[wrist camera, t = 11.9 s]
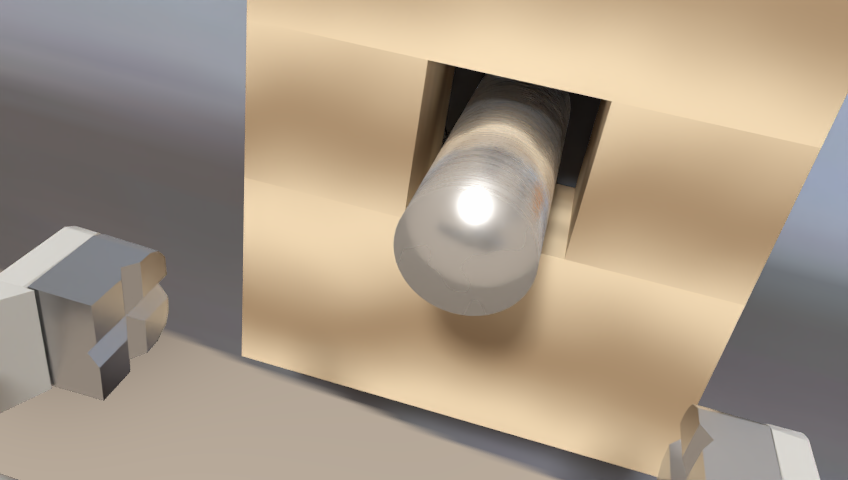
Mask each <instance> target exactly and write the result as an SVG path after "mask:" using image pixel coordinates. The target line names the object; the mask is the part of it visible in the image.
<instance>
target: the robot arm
mask: <svg viewBox="0 0 848 480" xmlns="http://www.w3.org/2000/svg"><path fill="white" fill-rule="evenodd" d="M166 275H167V272H166V262H165V256H163V255H162V254H161V253H160V252H159V251H156V250H153V249H150V248H147V247H143V246H140V245H137V244H134V243H131V242H127V241H124V240H121V239H118V238H115V237H111V236H108V235H105V234H99V233H97V232H94V231H90V230H87V229H84V228H80V227H77V226H70V227H64V228H63V229H61V230H60V231H59V232H57V233H56V234H54V235H53V236H52V237H50V238H49V239H47V240H46V241H45V242H43V243H42V244H40V245H39V246H38V247H36V248H35V249H33V250H32V251H31V252H29V253H28V254H26V255H25V256H24V257H22V258H21V259H19V260H18V261H17V262H15V263H14V264H12V265H11V266H10V267H8V268H7V269H5V270H4V271H3V272H1V273H0V413H2V412H3V411H6V410H8V409H10V408H12V407H14V406H16V405H19V404H21V403H23V402H25V401H27V400H29V399H31V398H33V397H35V396H37V395H40V394H42V393H44V392H46V391H48V390H50V389H52V386H55V387H58V388H62V389H65V390H69V391H72V392H76V393H79V394H83V395H86V396H90V397H93V398H96V399H100V400H105V399H106V397H107V396H108V395H109V394H110V393H111V392H112V391H113V390H114V389H115V388H116V387H117V386H118V384H119V383H120V382H121V381H122V380H123V379H124V378H125V377H126V376H127V374H129V372H130V359H132V358H135V357H137V356H140V355H143V354H145V353H148V351H149V350H150V349H151V348H152V347H153V345H154V344H155V343H156V342H157V341H158V339H159V337H160V335H161V333H162V331H163V329H164V327H165V325H166V320H167V315H168V296H167V295H166V293H165V292H164V291H163V289H162V288H161V286H160V285H159V282H160V281H161V280H162V279H163V278H164V277H165V276H166ZM680 432H681V439H680V440H678V441H676V442H674V443H671V444H669V446H668V448H667V451H666V453H665V455H664V457H663V460H662V462H661V466H660V470H659V474H658V478H657V480H820V477H819V474H818V470H817V467H816V463H815V460H814V456H813V453H812V449H811V446H810V442H809V439H808V438H807V437H806V436H805V435H804V434H803V433H800V432H797V431H793V430H789V429H785V428H781V427H778V426H774V425H770V424H762V423H759V422H756V421H752V420H749V419H745V418H741V417H738V416H734V415H731V414H727V413H724V412H720V411H716V410H713V409H709V408H706V407H702V406H698V405H695V404H692V405H691V406H690V407H689V408H688V409H687V410H686V412H685V414H684V416H683V418H682V420H681V422H680ZM0 480H18V479H15V478H12V477H9V476H6V475H3V474H0Z"/></svg>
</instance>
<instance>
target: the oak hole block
mask: <svg viewBox="0 0 848 480" xmlns="http://www.w3.org/2000/svg"><path fill="white" fill-rule="evenodd" d="M456 66H457V67H461V68H466V69H470V70H474V71H479V72H483V73H488V74H492V75H497V76H501V77H506V78H510V79H515V80H519V81H524V82H528V83H532V84H537V85H541V86H546V87H550V88H555V89H559V90H564V91H568V92H573V93H577V94H582V95H586V96H590V97H595V98H599V99H601V101H600V104H599V108H598V111H597V115H596V118H595V122H594V125H593V128H592V132H591V135H590V139H589V142H588V146H587V149H586V152H585V156H584V159H583V163H582V166H581V170H580V173H579V176H578V180H577V183H576V187H575V188H573V187H569V186H565V185H561V184H555V189H554V194H553V199H552V203H551V208H550V213H549V218H548V222H547V227H546V232H545V237H544V241H543V246H542V251H541V256H540V260H539V265H538V270H537V275H536V277H535V280H534V282H533V284H532V286H531V288H530V289H529V291H528V292H527V293H526V295H525V296H524V297H523V298H522V299H521V300H519V301H518V302H517V303H515V304H514V305H513V306H511V307H509V308H507V309H505V310H503V311H500V312H497V313H494V314H490V315H483V316H466V315H459V314H454V313H451V312H448V311H445V310H442V309H440V308H438V307H435V306H434V305H432V304H430V303H428V302H427V301H425V300H424V299H423V298H421V297H420V296H419V295H418V294H417V293H416V292H415V291H413V289H412V288H411V287H410V286H409V285H408V284H407V282H406V281H405V279H404V278H403V276H402V274H401V272H400V271H399V269H398V266H397V263H396V260H395V255H394V246H393V244H394V235H395V230H396V227H397V225H398V222H399V220H400V218H401V217H402V215H403V213H404V212H405V210H406V208H407V206H408V205H409V203H410V201H411V200H412V198H413V196H414V194H415V193H416V191H417V189H418V188H419V186H420V184H421V182H422V181H423V179H424V177H425V176H426V174H427V172H428V171H429V169H430V167H431V165H432V164H433V162H434V160H435V159H436V157H437V155H438V153H439V152H440V150H441V147H442V141H443V136H444V130H445V124H446V118H447V113H448V107H449V101H450V95H451V90H452V84H453V78H454V72H455V67H456ZM847 93H848V0H247V38H246V107H245V176H244V245H243V313H242V356H244V357H247V358H251V359H254V360H258V361H261V362H265V363H268V364H271V365H275V366H278V367H282V368H285V369H289V370H292V371H295V372H299V373H302V374H306V375H309V376H313V377H316V378H319V379H323V380H326V381H330V382H333V383H337V384H340V385H343V386H347V387H350V388H354V389H357V390H361V391H364V392H368V393H371V394H374V395H378V396H381V397H385V398H388V399H392V400H395V401H398V402H402V403H405V404H409V405H412V406H416V407H419V408H422V409H426V410H429V411H433V412H436V413H440V414H443V415H446V416H450V417H453V418H457V419H460V420H464V421H467V422H470V423H474V424H477V425H481V426H484V427H488V428H491V429H494V430H498V431H501V432H505V433H508V434H512V435H515V436H519V437H522V438H525V439H529V440H532V441H536V442H539V443H543V444H546V445H549V446H553V447H556V448H560V449H563V450H567V451H570V452H573V453H577V454H580V455H584V456H587V457H591V458H594V459H597V460H601V461H604V462H608V463H611V464H615V465H618V466H621V467H625V468H628V469H632V470H635V471H639V472H642V473H645V474H649V475H652V476H656V477H658V474H659V470H660V466H661V462H662V460H663V457H664V455H665V453H666V451H667V448H668V446H669V444H671V443H674V442H676V441H678V440H680V439H681V432H680V422H681V420H682V418H683V416H684V414H685V412H686V410H687V409H688V408H689V407H690V406H691V405H692V404H695V405H697V404H698V402H699V400H700V398H701V396H702V394H703V392H704V390H705V388H706V386H707V384H708V381H709V379H710V377H711V375H712V373H713V371H714V369H715V367H716V365H717V363H718V361H719V359H720V357H721V354H722V352H723V350H724V348H725V346H726V344H727V342H728V340H729V338H730V336H731V334H732V332H733V330H734V327H735V325H736V323H737V321H738V319H739V317H740V315H741V313H742V311H743V309H744V307H745V305H746V303H747V301H748V298H749V296H750V294H751V292H752V290H753V288H754V286H755V284H756V282H757V280H758V278H759V276H760V274H761V271H762V269H763V267H764V265H765V263H766V261H767V259H768V257H769V255H770V253H771V251H772V249H773V247H774V245H775V242H776V240H777V238H778V236H779V234H780V232H781V230H782V228H783V226H784V224H785V222H786V220H787V218H788V215H789V213H790V211H791V209H792V207H793V205H794V203H795V201H796V199H797V197H798V195H799V193H800V191H801V189H802V186H803V184H804V182H805V180H806V178H807V176H808V174H809V172H810V170H811V168H812V166H813V164H814V162H815V159H816V157H817V155H818V153H819V151H820V149H821V147H822V145H823V143H824V141H825V139H826V137H827V135H828V132H829V130H830V128H831V126H832V124H833V122H834V120H835V118H836V116H837V114H838V112H839V110H840V108H841V106H842V103H843V101H844V99H845V97H846V95H847Z"/></svg>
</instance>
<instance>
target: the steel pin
mask: <svg viewBox="0 0 848 480" xmlns="http://www.w3.org/2000/svg"><path fill="white" fill-rule="evenodd" d="M570 112H571V103H570V97H569V93H568V91H564V90H559V89H555V88H550V87H546V86H541V85H537V84H532V83H528V82H524V81H519V80H515V79H510V78H506V77H501V76H497V75H492V74H488V73H487V74H486V75H485V76H484V77H483V79H482V80H481V82H480V83H479V85H478V87H477V88H476V90H475V92H474V94H473V95H472V97H471V99H470V100H469V102H468V104H467V106H466V107H465V109H464V111H463V112H462V114H461V116H460V117H459V119H458V121H457V123H456V124H455V126H454V128H453V129H452V131H451V133H450V135H449V136H448V138H447V140H446V141H445V143H444V145H443V147H442V148H441V150H440V152H439V153H438V155H437V157H436V159H435V160H434V162H433V164H432V165H431V167H430V169H429V171H428V172H427V174H426V176H425V177H424V179H423V181H422V182H421V184H420V186H419V188H418V189H417V191H416V193H415V194H414V196H413V198H412V200H411V201H410V203H409V205H408V206H407V208H406V210H405V212H404V213H403V215H402V217H401V218H400V220H399V222H398V225H397V227H396V230H395V235H394V244H393V246H394V255H395V260H396V263H397V266H398V269H399V271H400V272H401V274H402V276H403V278H404V279H405V281H406V282H407V284H408V285H409V286H410V287H411V288H412V289H413V291H415V292H416V293H417V294H418V295H419V296H420V297H421V298H423V299H424V300H425V301H427V302H428V303H430V304H432V305H434V306H435V307H438V308H440V309H442V310H445V311H448V312H451V313H454V314H459V315H466V316H483V315H490V314H494V313H497V312H500V311H503V310H505V309H507V308H509V307H511V306H513V305H514V304H515V303H517V302H518V301H519V300H521V299H522V298H523V297H524V296H525V295H526V293H527V292H528V291H529V289H530V288H531V286H532V284H533V282H534V280H535V277H536V275H537V270H538V265H539V260H540V256H541V251H542V246H543V241H544V237H545V232H546V227H547V222H548V218H549V213H550V208H551V203H552V199H553V194H554V189H555V184H556V179H557V175H558V170H559V165H560V160H561V156H562V151H563V146H564V141H565V137H566V132H567V127H568V122H569V118H570Z"/></svg>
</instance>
